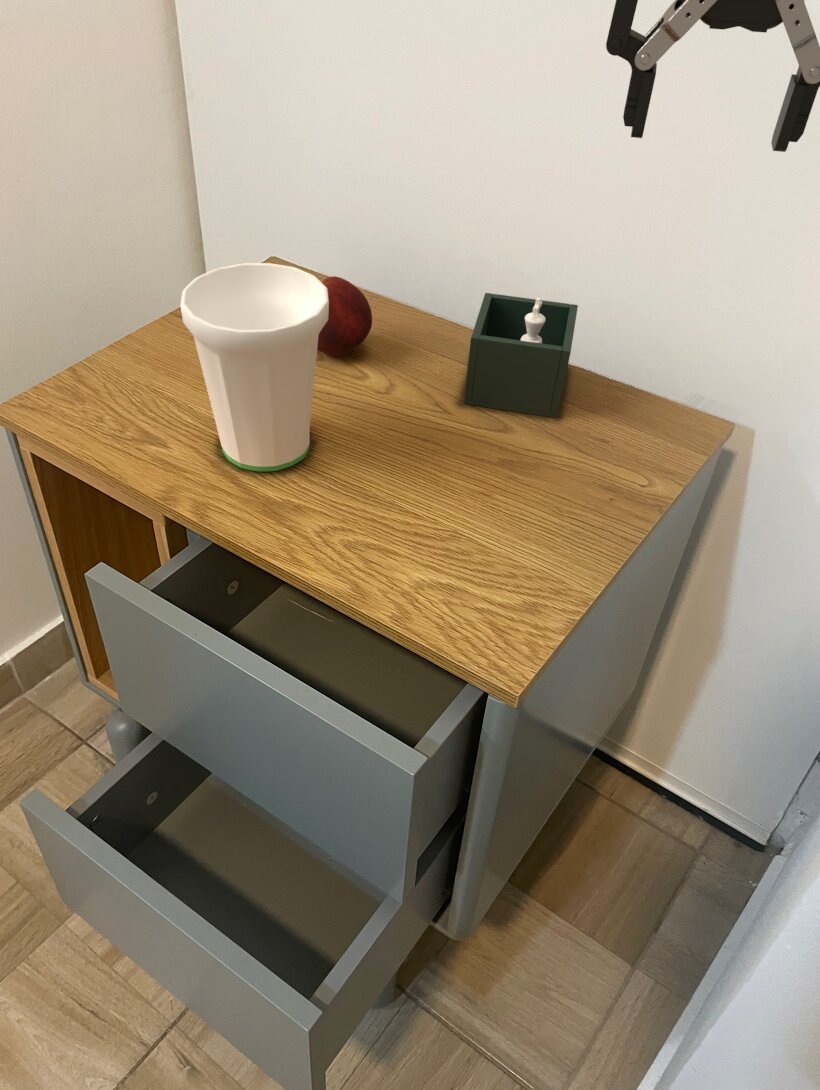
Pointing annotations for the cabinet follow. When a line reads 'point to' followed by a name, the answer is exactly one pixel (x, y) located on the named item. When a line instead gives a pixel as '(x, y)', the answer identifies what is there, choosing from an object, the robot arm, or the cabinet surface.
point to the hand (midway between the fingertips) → (706, 140)
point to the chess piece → (534, 324)
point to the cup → (258, 357)
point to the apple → (344, 318)
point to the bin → (519, 356)
